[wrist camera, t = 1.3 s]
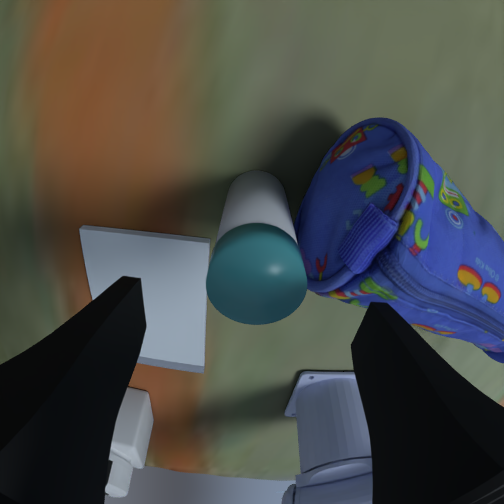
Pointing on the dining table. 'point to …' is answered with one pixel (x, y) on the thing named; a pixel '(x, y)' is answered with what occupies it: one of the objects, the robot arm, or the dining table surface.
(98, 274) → the note pad
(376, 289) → the pencil case
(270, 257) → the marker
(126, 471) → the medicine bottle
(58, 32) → the dining table surface
